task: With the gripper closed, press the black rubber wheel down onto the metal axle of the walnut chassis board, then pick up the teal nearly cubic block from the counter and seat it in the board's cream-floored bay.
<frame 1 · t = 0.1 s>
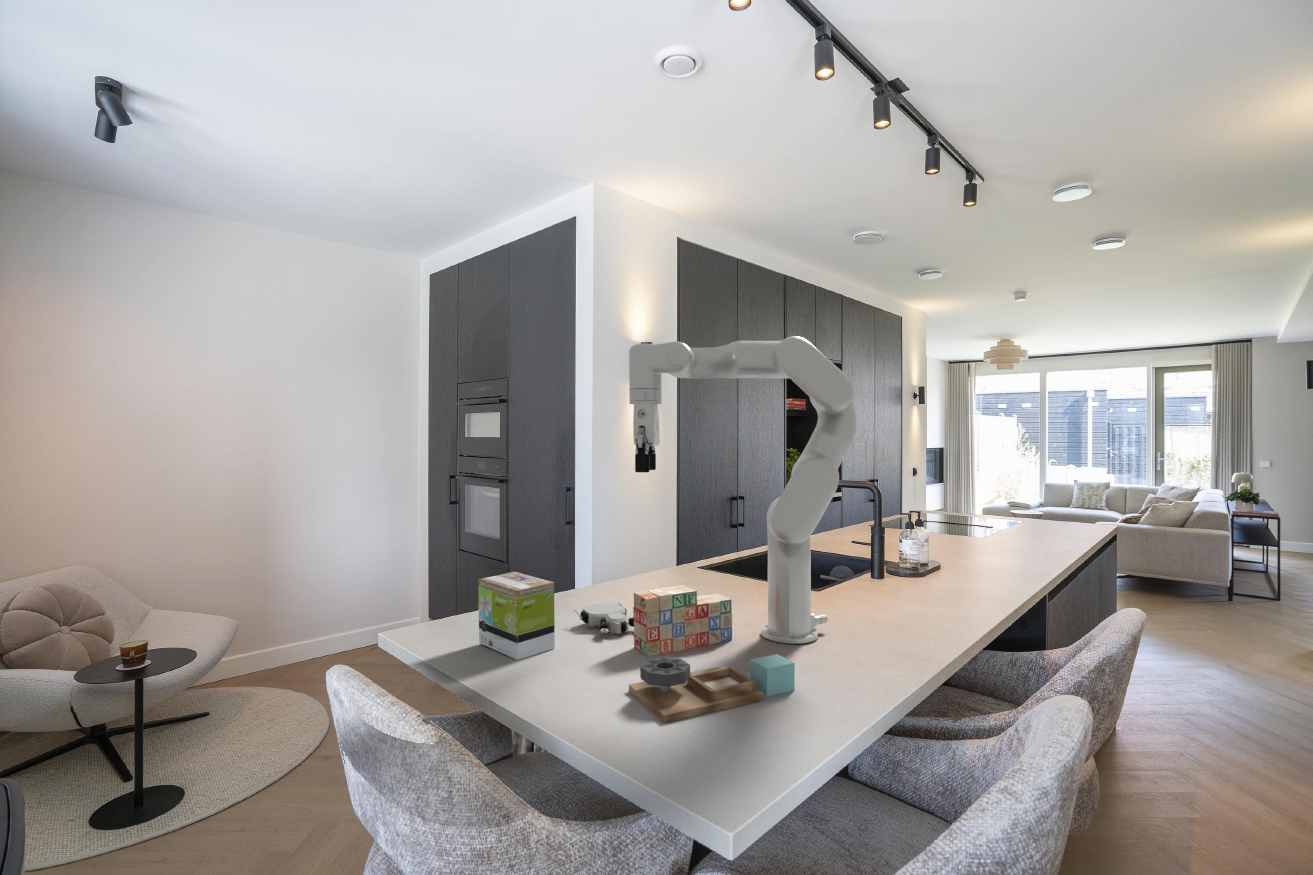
hand: (645, 471, 148), 37 cm above the table, tool pointing down, fingers open, 9 cm apart
stack of blocks: (683, 645, 138), on the table
robot toy: (609, 629, 150), on the table
tea box: (516, 648, 137), on the table
wheel: (665, 671, 110), point 5 cm above the table, slide at 0.0 cm
chassis: (694, 695, 111), on the table
teal nearly cubic block: (772, 688, 114), on the table
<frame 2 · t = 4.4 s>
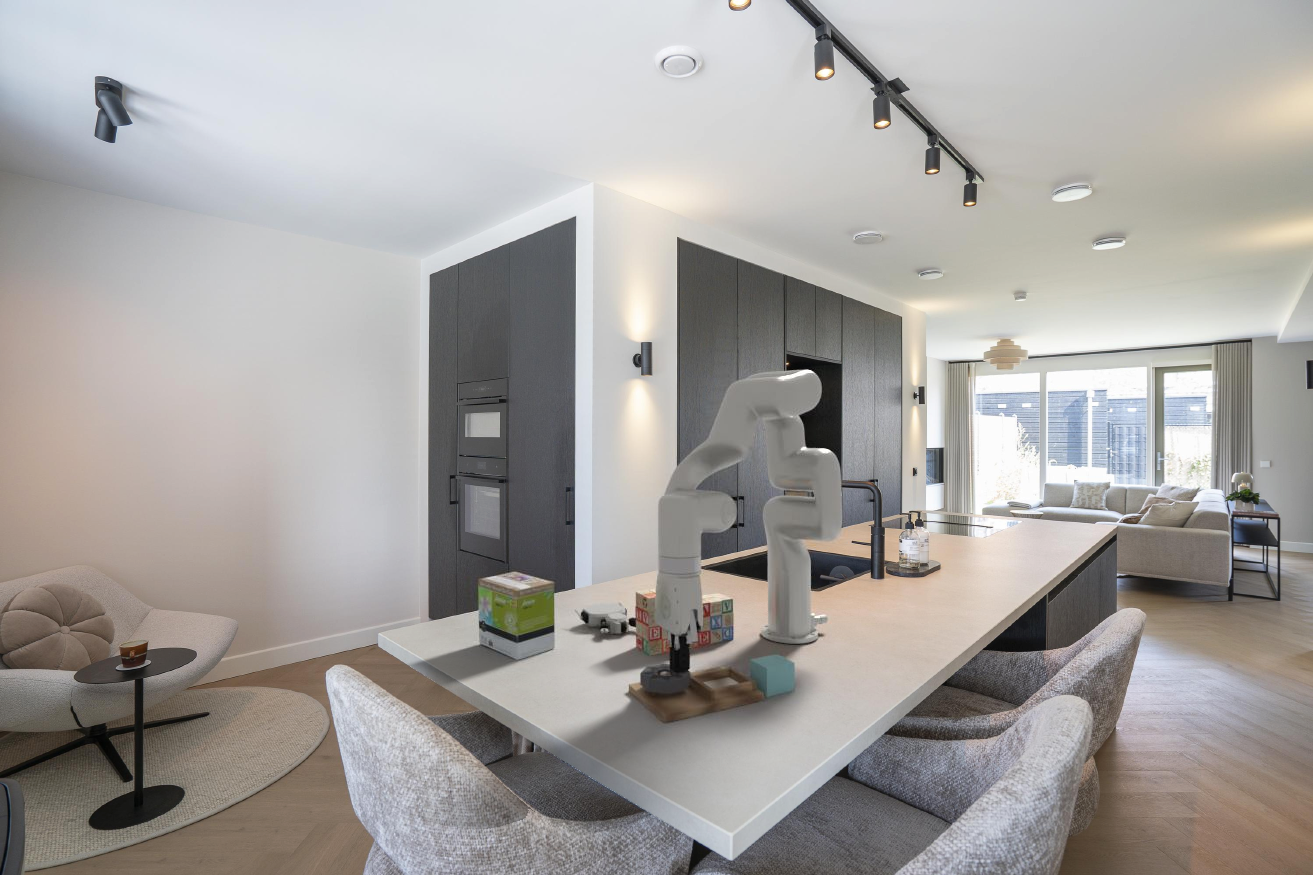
hand: (679, 669, 111), 4 cm above the table, tool pointing down, fingers closed
wheel: (665, 677, 110), point 3 cm above the table, slide at 1.2 cm, touching gripper
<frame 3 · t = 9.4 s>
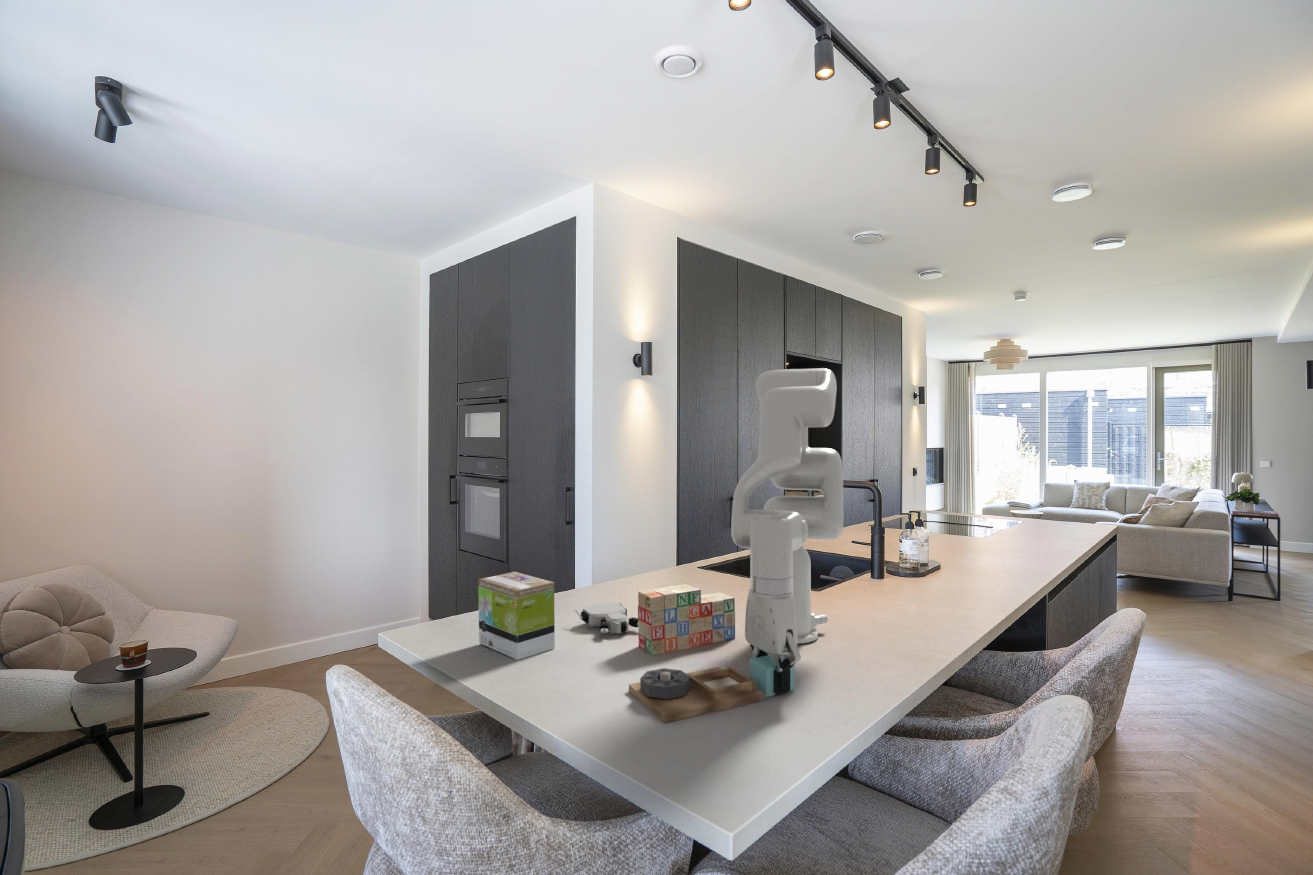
hand: (772, 685, 114), 0 cm above the table, tool pointing down, fingers closed on teal nearly cubic block, 5 cm apart
wheel: (665, 682, 110), point 3 cm above the table, slide at 2.0 cm
teal nearly cubic block: (772, 688, 114), on the table, touching gripper
when the fingers open (4 cm above the table, at t = 14.0 s): teal nearly cubic block drops 2 cm, resting on chassis.
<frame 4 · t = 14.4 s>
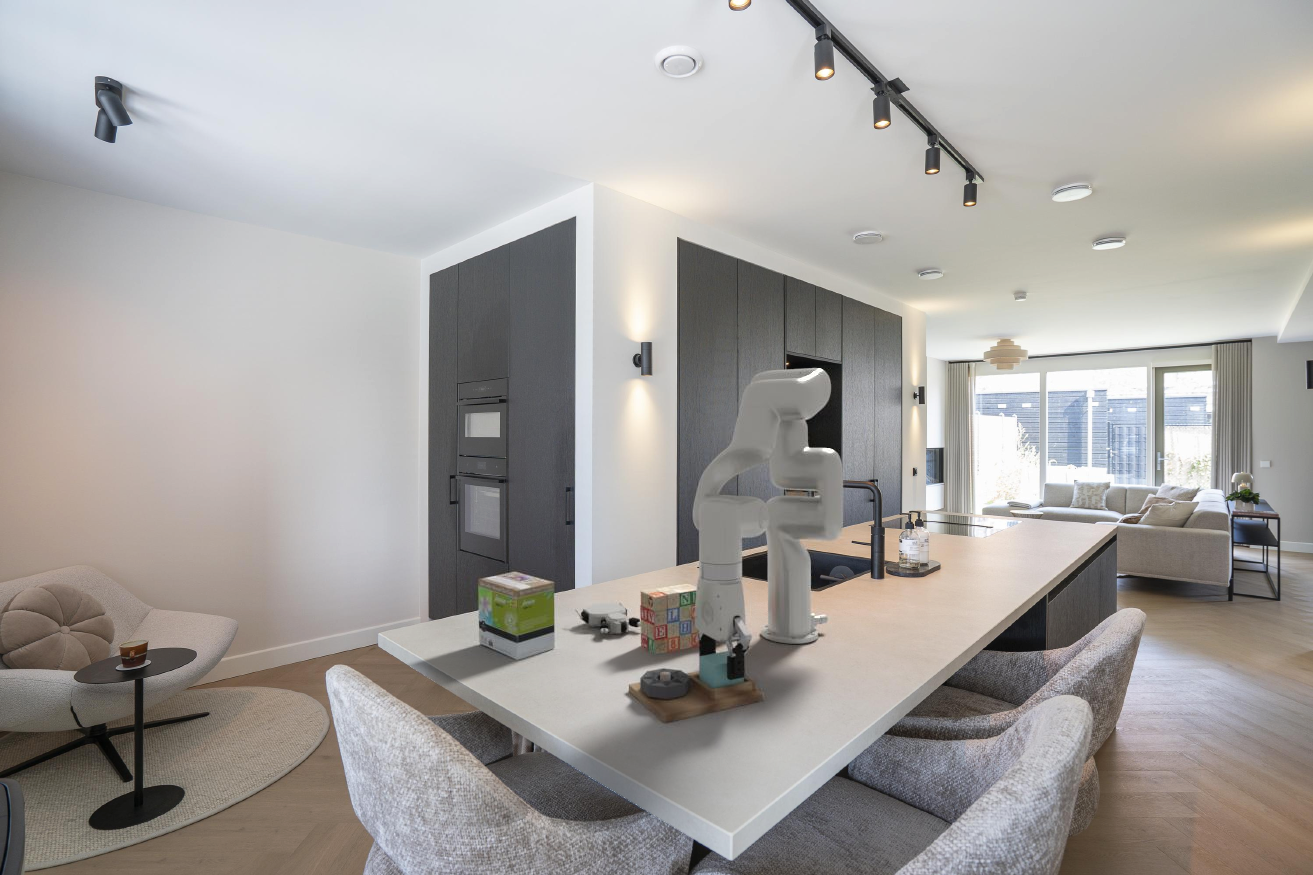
hand: (721, 669, 111), 4 cm above the table, tool pointing down, fingers open, 8 cm apart
teal nearly cubic block: (721, 686, 111), point 1 cm above the table, touching chassis
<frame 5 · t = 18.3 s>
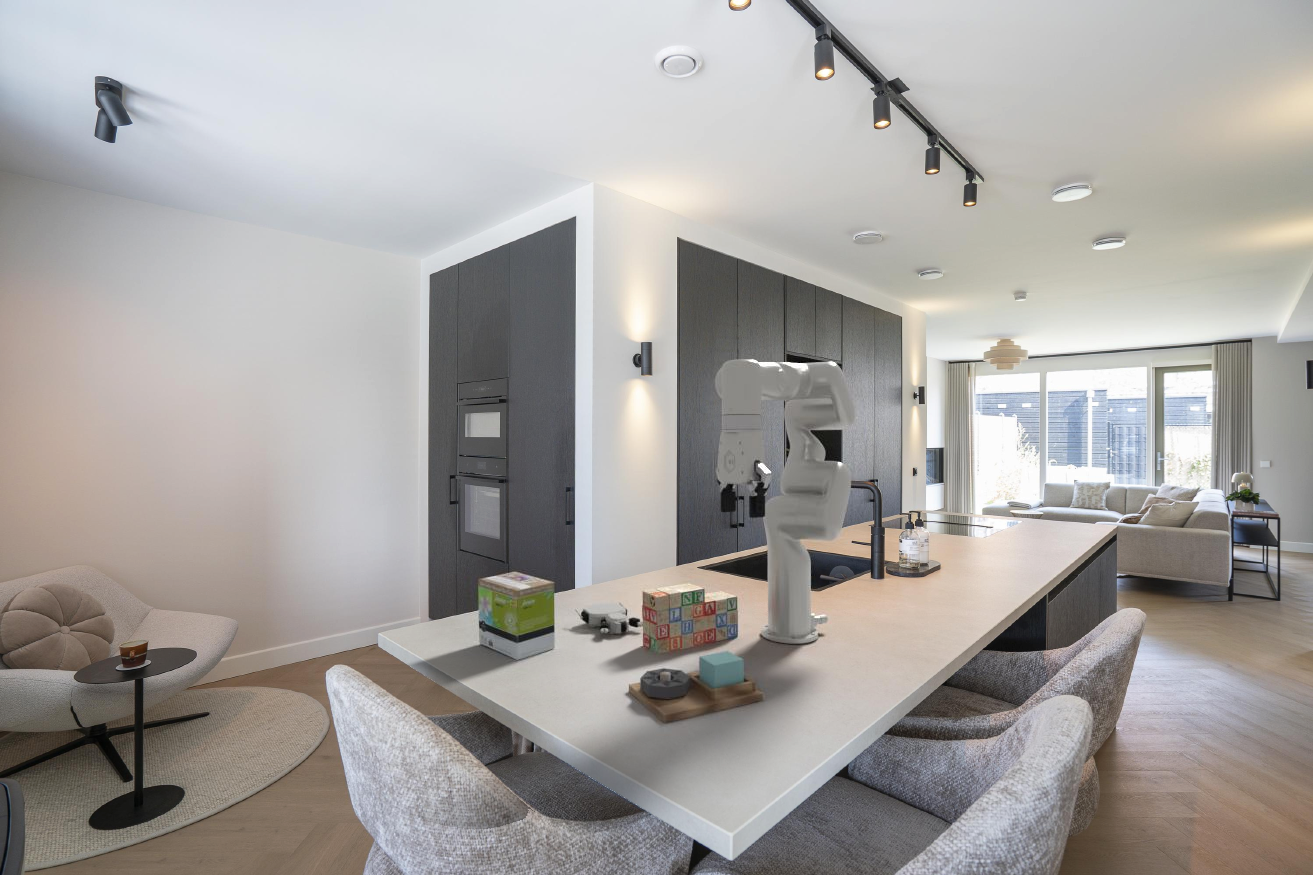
hand: (742, 514, 121), 30 cm above the table, tool pointing down, fingers open, 9 cm apart
at the end: teal nearly cubic block 0.0 cm from the target spot on the chassis, point 1.3 cm above the chassis's base; teal nearly cubic block tilted 0°; wheel slide at 2.0 cm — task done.
